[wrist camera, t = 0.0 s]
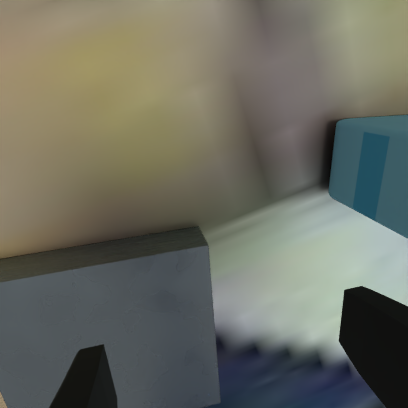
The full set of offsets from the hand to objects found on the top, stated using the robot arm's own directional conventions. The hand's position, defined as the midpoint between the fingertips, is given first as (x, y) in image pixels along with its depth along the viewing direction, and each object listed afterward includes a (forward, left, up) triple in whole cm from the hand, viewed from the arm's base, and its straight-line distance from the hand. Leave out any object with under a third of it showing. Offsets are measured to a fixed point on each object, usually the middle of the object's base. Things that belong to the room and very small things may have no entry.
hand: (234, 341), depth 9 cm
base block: (-7, +5, -10) cm, 13 cm away
